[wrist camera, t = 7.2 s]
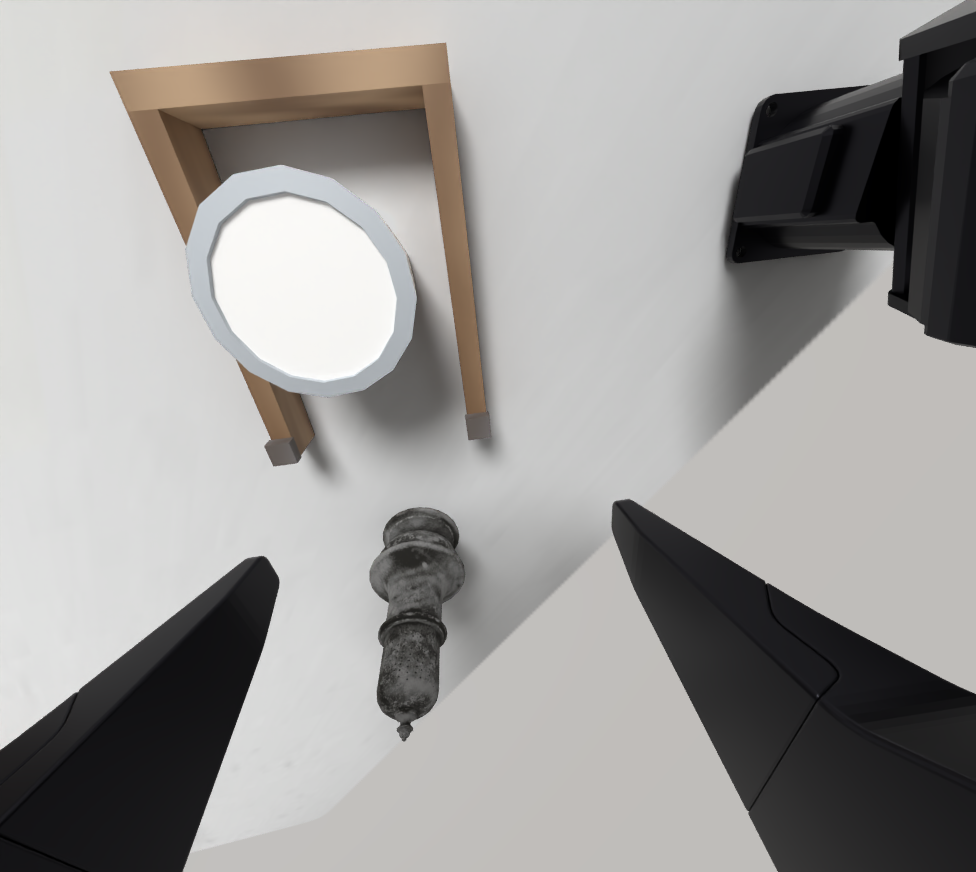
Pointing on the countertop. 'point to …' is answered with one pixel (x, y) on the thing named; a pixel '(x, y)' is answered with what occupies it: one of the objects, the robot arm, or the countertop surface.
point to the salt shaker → (414, 609)
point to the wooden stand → (297, 96)
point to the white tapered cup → (301, 281)
